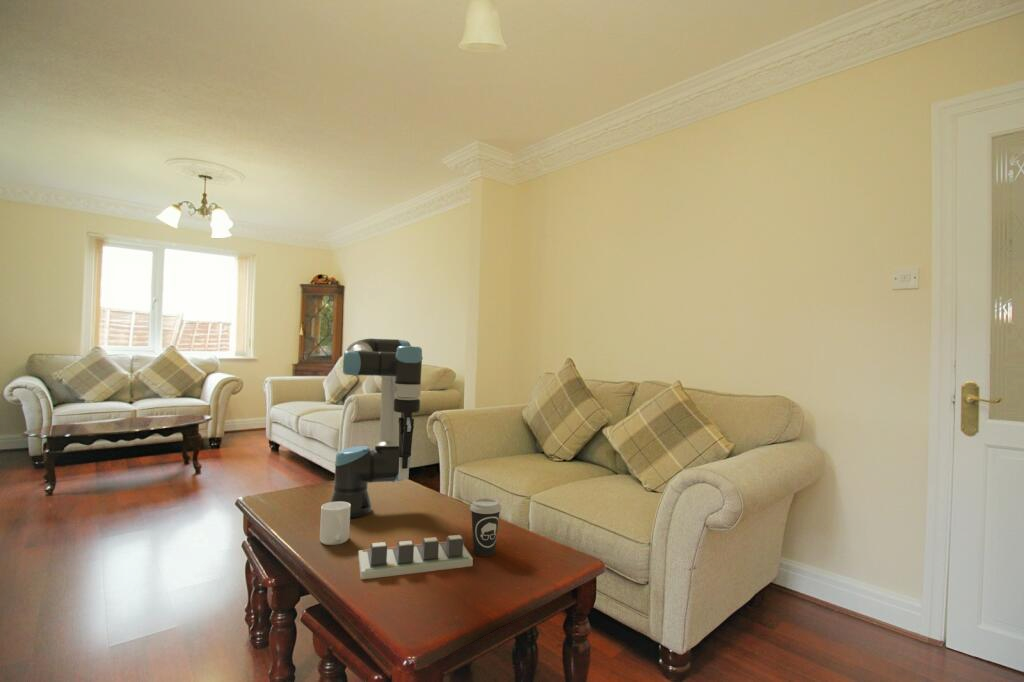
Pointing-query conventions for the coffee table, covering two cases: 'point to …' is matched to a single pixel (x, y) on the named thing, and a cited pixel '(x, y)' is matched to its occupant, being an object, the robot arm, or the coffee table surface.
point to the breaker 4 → (454, 545)
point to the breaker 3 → (430, 548)
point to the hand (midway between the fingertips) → (403, 478)
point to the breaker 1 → (378, 553)
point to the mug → (335, 523)
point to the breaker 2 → (405, 551)
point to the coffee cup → (485, 525)
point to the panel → (411, 567)
